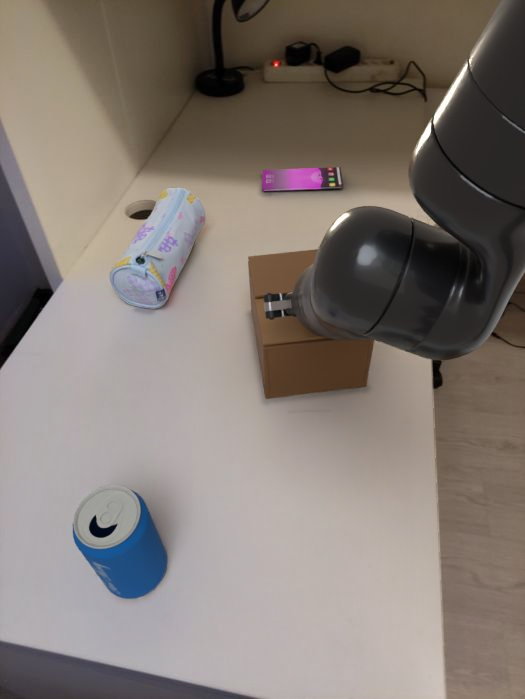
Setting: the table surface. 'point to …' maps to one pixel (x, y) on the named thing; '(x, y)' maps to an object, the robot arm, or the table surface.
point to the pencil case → (159, 250)
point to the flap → (281, 328)
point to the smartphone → (302, 179)
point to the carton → (303, 356)
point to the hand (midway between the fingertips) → (310, 303)
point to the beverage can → (120, 541)
